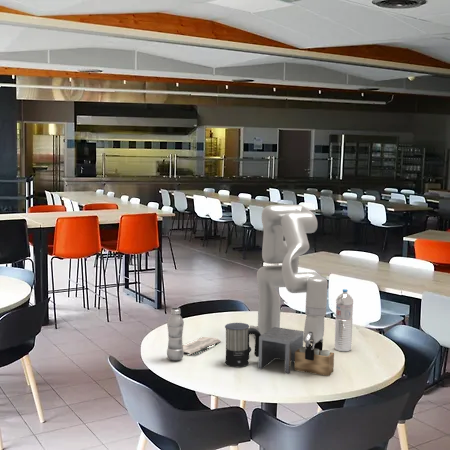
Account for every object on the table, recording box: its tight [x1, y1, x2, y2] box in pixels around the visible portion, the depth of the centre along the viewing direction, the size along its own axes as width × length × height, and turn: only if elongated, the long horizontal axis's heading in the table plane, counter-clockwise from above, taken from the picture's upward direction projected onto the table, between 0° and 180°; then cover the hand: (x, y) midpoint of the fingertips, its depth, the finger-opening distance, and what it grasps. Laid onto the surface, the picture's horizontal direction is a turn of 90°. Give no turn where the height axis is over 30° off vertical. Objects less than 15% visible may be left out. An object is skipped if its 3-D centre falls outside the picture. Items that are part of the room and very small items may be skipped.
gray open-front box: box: [257, 327, 304, 375], centre depth 238 cm, size 12×15×12 cm
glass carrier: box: [294, 346, 335, 377], centre depth 233 cm, size 13×6×8 cm, turn 64°
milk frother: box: [224, 322, 261, 368], centre depth 243 cm, size 14×16×15 cm
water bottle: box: [334, 288, 354, 352], centre depth 259 cm, size 7×7×25 cm
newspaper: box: [183, 336, 222, 356], centre depth 260 cm, size 23×12×2 cm, turn 147°
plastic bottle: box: [166, 307, 185, 361], centre depth 242 cm, size 6×7×20 cm
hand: (313, 355), depth 233 cm, fingers open, 9 cm apart
